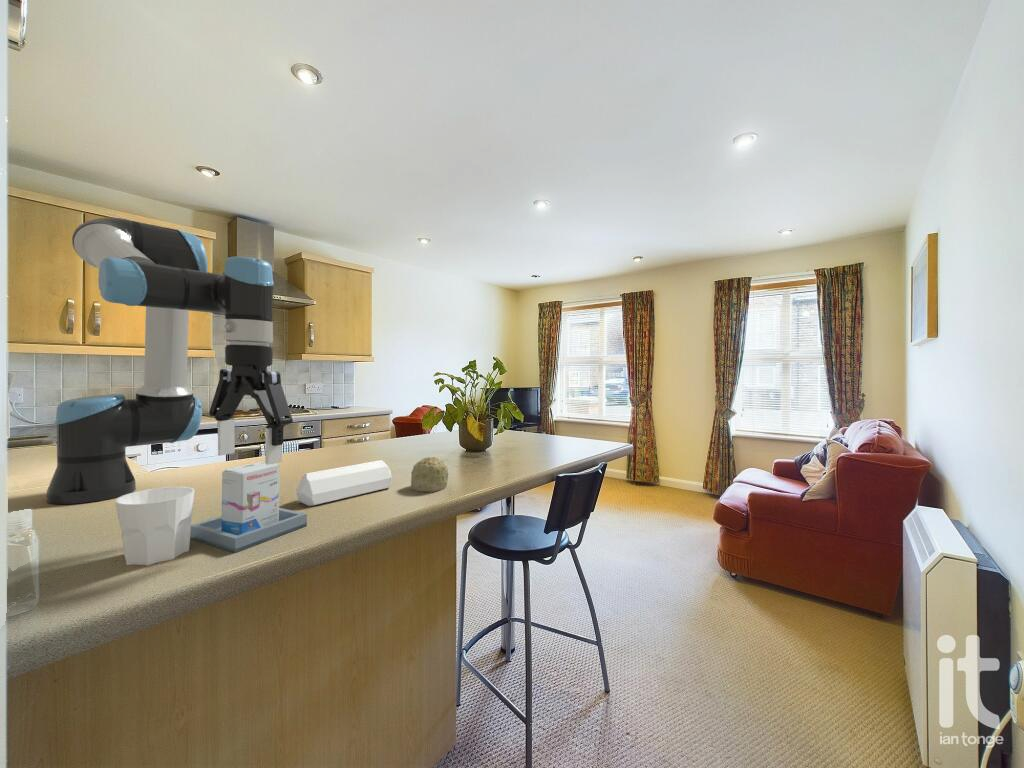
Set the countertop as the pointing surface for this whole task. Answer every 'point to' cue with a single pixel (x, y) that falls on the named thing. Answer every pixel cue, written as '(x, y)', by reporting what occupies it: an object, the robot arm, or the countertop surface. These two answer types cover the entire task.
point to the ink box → (250, 497)
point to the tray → (214, 536)
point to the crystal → (343, 482)
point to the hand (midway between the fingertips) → (249, 458)
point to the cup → (155, 524)
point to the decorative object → (429, 475)
